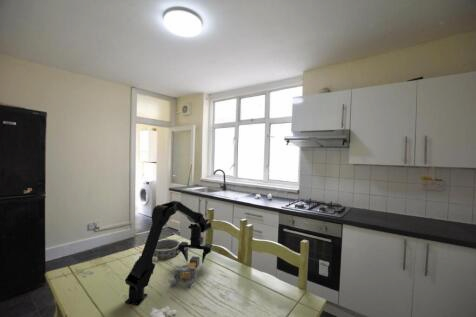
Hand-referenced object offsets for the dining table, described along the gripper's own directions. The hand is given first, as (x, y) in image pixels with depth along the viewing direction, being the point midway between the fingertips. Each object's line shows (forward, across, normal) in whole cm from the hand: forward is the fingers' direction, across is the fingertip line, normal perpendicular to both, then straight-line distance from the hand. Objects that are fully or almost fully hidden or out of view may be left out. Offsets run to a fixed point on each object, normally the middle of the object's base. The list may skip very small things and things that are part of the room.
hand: (195, 262), depth 122 cm
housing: (+1, 0, +18) cm, 18 cm away
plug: (+2, 0, +6) cm, 6 cm away
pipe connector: (+2, +24, +8) cm, 25 cm away
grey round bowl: (+2, +23, -12) cm, 26 cm away
